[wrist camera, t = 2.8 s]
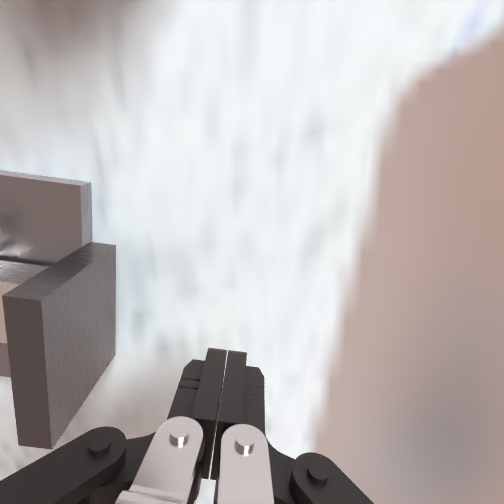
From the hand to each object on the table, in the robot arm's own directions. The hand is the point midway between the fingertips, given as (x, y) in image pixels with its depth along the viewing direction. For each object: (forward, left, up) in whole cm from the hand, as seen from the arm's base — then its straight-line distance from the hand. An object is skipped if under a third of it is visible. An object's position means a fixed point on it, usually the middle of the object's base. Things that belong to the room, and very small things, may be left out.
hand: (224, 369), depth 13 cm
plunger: (0, -10, -4) cm, 11 cm away
